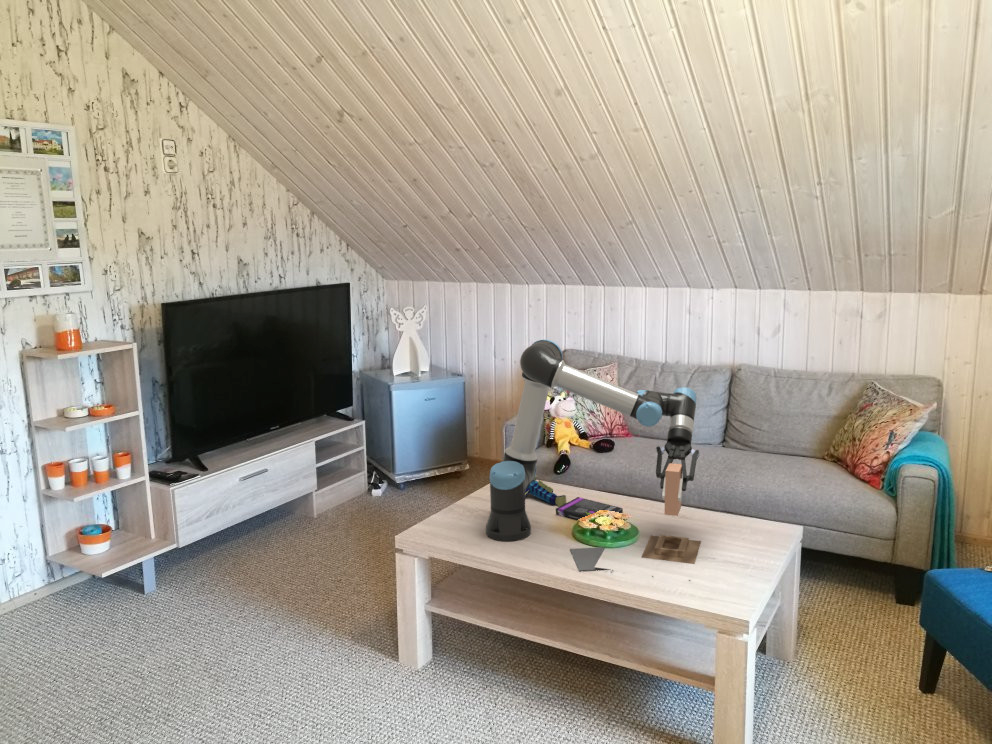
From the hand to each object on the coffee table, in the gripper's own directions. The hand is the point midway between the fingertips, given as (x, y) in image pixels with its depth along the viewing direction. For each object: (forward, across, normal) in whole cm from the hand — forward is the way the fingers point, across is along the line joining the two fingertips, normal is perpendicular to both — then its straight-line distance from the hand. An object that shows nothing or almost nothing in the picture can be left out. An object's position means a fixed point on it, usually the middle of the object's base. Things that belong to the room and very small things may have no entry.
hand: (671, 498), depth 244 cm
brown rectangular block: (+1, 0, -6) cm, 6 cm away
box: (-6, +32, -35) cm, 48 cm away
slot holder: (+11, 0, -16) cm, 20 cm away
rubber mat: (+19, +20, -9) cm, 29 cm away
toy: (-13, +52, -42) cm, 68 cm away
